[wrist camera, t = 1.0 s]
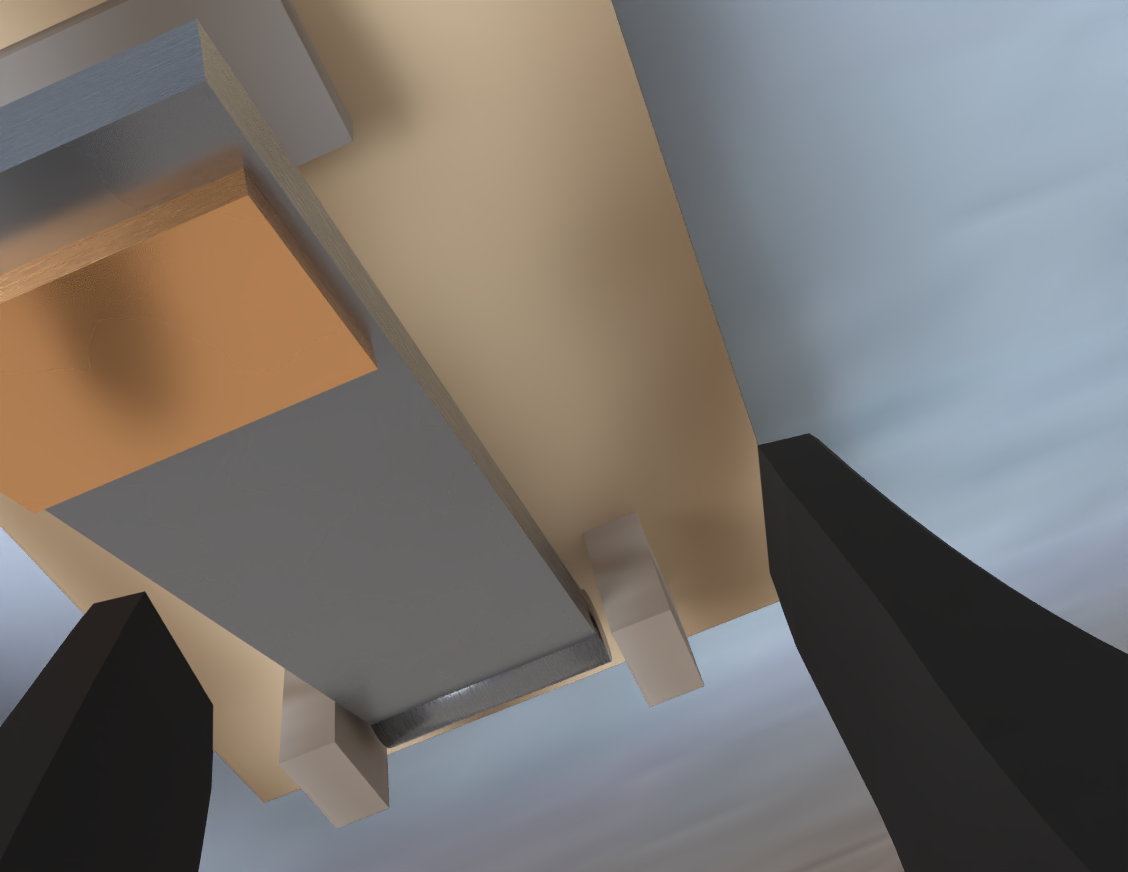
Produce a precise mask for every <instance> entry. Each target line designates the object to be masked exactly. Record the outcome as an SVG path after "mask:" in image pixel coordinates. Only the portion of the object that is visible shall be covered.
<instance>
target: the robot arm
mask: <svg viewBox="0 0 1128 872" xmlns="http://www.w3.org/2000/svg"><path fill="white" fill-rule="evenodd" d="M757 447H758V457H759V468H760V478H761V488H762V499H763V509H764V520H765V530H766V540H767V551H768V561H769V572H770V575H771V578H772V581H773V584H774V586H775V589H776V592H777V595H778V598H779V601H780V603H781V606H782V609H783V612H784V615H785V617H786V620H787V623H788V625H789V628H790V631H791V634H792V636H793V639H794V642H795V644H796V647H797V649H798V651H799V653H800V655H801V657H802V659H803V661H804V663H805V665H806V667H807V669H808V671H809V673H810V675H811V677H812V679H813V681H814V683H815V685H816V687H817V689H818V691H819V693H820V695H821V697H822V699H823V701H824V703H825V705H826V707H827V709H828V711H829V713H830V715H831V717H832V719H833V721H834V723H835V725H836V727H837V729H838V731H839V733H840V735H841V737H842V739H843V741H844V743H845V745H846V747H847V749H848V751H849V753H850V755H851V757H852V759H853V761H854V763H855V765H856V767H857V769H858V771H859V773H860V775H861V777H862V779H863V780H864V782H865V784H866V786H867V788H868V790H869V792H870V794H871V796H872V798H873V800H874V802H875V804H876V806H877V808H878V810H879V812H880V815H881V817H882V819H883V821H884V823H885V826H886V828H887V830H888V832H889V834H890V837H891V839H892V841H893V843H894V845H895V848H896V850H897V853H898V856H899V858H900V861H901V863H902V866H903V868H904V871H905V872H1128V654H1127V653H1125V652H1123V651H1121V650H1119V649H1117V648H1115V647H1113V646H1111V645H1109V644H1107V643H1105V642H1103V641H1101V640H1099V639H1098V638H1096V637H1094V636H1092V635H1090V634H1088V633H1087V632H1085V631H1083V630H1081V629H1080V628H1078V627H1076V626H1074V625H1072V624H1071V623H1069V622H1067V621H1065V620H1064V619H1062V618H1060V617H1058V616H1057V615H1055V614H1053V613H1051V612H1050V611H1048V610H1046V609H1045V608H1043V607H1041V606H1040V605H1038V604H1037V603H1035V602H1033V601H1032V600H1030V599H1028V598H1027V597H1025V596H1024V595H1022V594H1020V593H1019V592H1017V591H1016V590H1014V589H1013V588H1011V587H1009V586H1008V585H1006V584H1005V583H1003V582H1002V581H1000V580H999V579H997V578H996V577H994V576H993V575H991V574H990V573H988V572H987V571H985V570H984V569H982V568H981V567H979V566H978V565H976V564H975V563H973V562H972V561H971V560H969V559H968V558H966V557H965V556H964V555H962V554H961V553H959V552H958V551H956V550H955V549H954V548H952V547H951V546H949V545H948V544H947V543H945V542H944V541H943V540H941V539H940V538H939V537H937V536H936V535H935V534H933V533H932V532H931V531H929V530H928V529H927V528H925V527H924V526H923V525H921V524H920V523H919V522H917V521H916V520H915V519H913V518H912V517H911V516H909V515H908V514H907V513H906V512H904V511H903V510H902V509H901V508H899V507H898V506H897V505H895V504H894V503H893V502H892V501H890V500H889V499H888V498H887V497H885V496H884V495H883V494H882V493H881V492H879V491H878V490H877V489H876V488H875V487H873V486H872V485H871V484H870V483H868V482H867V481H866V480H865V479H864V478H862V477H861V476H860V475H859V474H858V473H857V472H855V471H854V470H853V469H852V468H851V467H850V466H848V465H847V464H846V463H845V462H844V461H843V460H841V459H840V458H839V457H838V456H837V455H836V454H835V453H834V452H832V451H831V450H830V449H829V448H828V447H827V446H826V445H824V444H823V443H822V442H821V441H820V440H819V439H817V438H816V437H814V436H813V435H811V434H804V435H800V436H796V437H792V438H788V439H783V440H779V441H775V442H771V443H767V444H762V445H758V446H757ZM212 760H213V704H212V702H211V700H210V699H209V697H208V695H207V694H206V692H205V690H204V689H203V687H202V685H201V684H200V682H199V680H198V679H197V677H196V675H195V674H194V672H193V670H192V669H191V667H190V665H189V664H188V662H187V660H186V659H185V657H184V655H183V654H182V652H181V650H180V649H179V647H178V645H177V644H176V642H175V640H174V639H173V637H172V635H171V634H170V632H169V630H168V629H167V627H166V625H165V624H164V622H163V620H162V619H161V617H160V615H159V614H158V612H157V610H156V609H155V607H154V605H153V604H152V602H151V600H150V599H149V597H148V595H147V594H146V592H145V591H144V592H140V593H135V594H131V595H127V596H123V597H119V598H114V599H110V600H106V601H102V602H98V603H93V605H92V606H91V607H90V608H89V610H88V611H87V612H86V613H85V615H84V616H83V617H82V618H81V620H80V621H79V622H78V623H77V625H76V626H75V627H74V629H73V630H72V631H71V633H70V634H69V635H68V637H67V638H66V639H65V641H64V642H63V643H62V645H61V646H60V647H59V649H58V650H57V652H56V653H55V654H54V656H53V657H52V658H51V660H50V661H49V662H48V664H47V665H46V666H45V668H44V669H43V671H42V672H41V673H40V675H39V676H38V677H37V679H36V680H35V681H34V683H33V684H32V686H31V687H30V688H29V690H28V691H27V692H26V694H25V695H24V696H23V698H22V699H21V700H20V702H19V703H18V704H17V706H16V707H15V708H14V710H13V711H12V712H11V714H10V715H9V716H8V718H7V719H6V720H5V722H4V723H3V724H2V726H1V727H0V872H198V870H199V864H200V858H201V852H202V846H203V839H204V833H205V827H206V820H207V814H208V807H209V800H210V793H211V785H212Z"/></svg>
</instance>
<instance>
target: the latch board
mask: <svg viewBox="0 0 1128 872" xmlns="http://www.w3.org/2000/svg"><path fill="white" fill-rule="evenodd" d="M196 18H197V19H198V21H199V22H200V24H201V25H202V27H203V28H204V30H205V31H206V33H207V34H208V36H209V37H210V39H211V40H212V42H213V43H214V45H215V46H216V48H217V49H218V51H219V52H220V54H221V55H222V57H223V58H224V59H225V61H226V62H227V64H228V65H229V67H230V68H231V70H232V71H233V73H234V74H235V76H236V77H237V79H238V80H239V82H240V83H241V85H242V86H243V88H244V89H245V91H246V92H247V94H248V95H249V97H250V98H251V100H252V101H253V103H254V104H255V106H256V107H257V109H258V110H259V112H260V113H261V115H262V116H263V118H264V119H265V120H266V122H267V123H268V125H269V126H270V128H271V129H272V131H273V132H274V134H275V135H276V137H277V138H278V140H279V141H280V143H281V144H282V146H283V147H284V149H285V150H286V152H287V153H288V155H289V156H290V158H291V159H292V161H293V162H294V164H295V165H296V167H297V168H298V170H299V171H300V173H301V174H302V176H303V177H304V179H305V180H306V182H307V183H308V184H309V186H310V187H311V189H312V190H313V192H314V193H315V195H316V196H317V198H318V199H319V201H320V202H321V204H322V205H323V207H324V208H325V210H326V211H327V213H328V214H329V216H330V217H331V219H332V220H333V222H334V223H335V225H336V226H337V228H338V229H339V231H340V232H341V234H342V235H343V237H344V238H345V240H346V241H347V243H348V244H349V245H350V247H351V248H352V250H353V251H354V253H355V254H356V256H357V257H358V259H359V260H360V262H361V263H362V265H363V266H364V268H365V269H366V271H367V272H368V274H369V275H370V277H371V278H372V280H373V281H374V283H375V284H376V286H377V287H378V289H379V290H380V292H381V293H382V295H383V296H384V298H385V299H386V301H387V302H388V304H389V305H390V307H391V308H392V309H393V311H394V312H395V314H396V315H397V317H398V318H399V320H400V321H401V323H402V324H403V326H404V327H405V329H406V330H407V332H408V333H409V335H410V336H411V338H412V339H413V341H414V342H415V344H416V345H417V347H418V348H419V350H420V351H421V353H422V354H423V356H424V357H425V359H426V360H427V362H428V363H429V365H430V366H431V368H432V369H433V370H434V372H435V373H436V375H437V376H438V378H439V379H440V381H441V382H442V384H443V385H444V387H445V388H446V390H447V391H448V393H449V394H450V396H451V397H452V399H453V400H454V402H455V403H456V405H457V406H458V408H459V409H460V411H461V412H462V414H463V415H464V417H465V418H466V420H467V421H468V423H469V424H470V426H471V427H472V429H473V430H474V432H475V433H476V434H477V436H478V437H479V439H480V440H481V442H482V443H483V445H484V446H485V448H486V449H487V451H488V452H489V454H490V455H491V457H492V458H493V460H494V461H495V463H496V464H497V466H498V467H499V469H500V470H501V472H502V473H503V475H504V476H505V478H506V479H507V481H508V482H509V484H510V485H511V487H512V488H513V490H514V491H515V493H516V494H517V495H518V497H519V498H520V500H521V501H522V503H523V504H524V506H525V507H526V509H527V510H528V512H529V513H530V515H531V516H532V518H533V519H534V521H535V522H536V524H537V525H538V527H539V528H540V530H541V531H542V533H543V534H544V536H545V537H546V539H547V540H548V542H549V543H550V545H551V546H552V548H553V549H554V551H555V552H556V554H557V555H558V557H559V558H560V559H561V561H562V562H563V564H564V565H565V567H566V568H567V570H568V571H569V573H570V574H571V576H572V577H573V579H574V580H575V582H576V583H577V585H578V586H579V588H580V589H581V590H582V589H585V591H586V592H587V594H588V595H589V597H590V599H591V601H592V603H593V605H594V607H595V610H596V612H597V614H598V617H599V619H600V622H601V624H602V627H603V630H604V632H605V635H606V638H607V641H608V644H609V648H610V651H611V655H612V662H610V663H607V664H604V665H602V666H599V667H597V668H594V669H592V670H589V671H587V672H584V673H581V674H579V675H576V676H574V677H571V678H569V679H566V680H564V681H561V682H559V683H556V684H553V685H551V686H548V687H546V688H543V689H541V690H538V691H536V692H533V693H530V694H528V695H525V696H523V697H520V698H518V699H515V700H513V701H510V702H508V703H505V704H502V705H500V706H497V707H495V708H492V709H490V710H487V711H485V712H482V713H479V714H477V715H474V716H472V717H469V718H467V719H464V720H462V721H459V722H457V723H454V724H451V725H449V726H446V727H444V728H441V729H439V730H436V731H434V732H431V733H429V734H426V735H423V736H421V737H418V738H416V739H413V740H411V741H408V742H406V743H403V744H400V745H398V746H395V747H393V748H387V747H385V746H384V745H383V744H382V743H381V742H380V741H379V739H378V738H377V736H376V735H375V733H374V731H373V729H372V727H371V725H370V724H368V723H367V722H365V721H364V720H362V719H361V718H359V717H358V716H356V715H355V714H353V713H351V712H350V711H348V710H347V709H345V708H344V707H342V706H341V705H339V704H338V703H336V702H335V701H333V700H332V699H330V698H329V697H327V696H326V695H324V694H323V693H321V692H320V691H318V690H317V689H315V688H314V687H312V686H311V685H309V684H308V683H306V682H305V681H303V680H302V679H300V678H298V677H297V676H295V675H294V674H292V673H291V672H289V671H288V670H286V669H285V668H283V667H282V666H280V665H279V664H277V663H276V662H274V661H273V660H271V659H270V658H268V657H267V656H265V655H264V654H262V653H261V652H259V651H258V650H256V649H255V648H253V647H252V646H250V645H249V644H247V643H245V642H244V641H242V640H241V639H239V638H238V637H236V636H235V635H233V634H232V633H230V632H229V631H227V630H226V629H224V628H223V627H221V626H220V625H218V624H217V623H215V622H214V621H212V620H211V619H209V618H208V617H206V616H205V615H203V614H202V613H200V612H199V611H197V610H196V609H194V608H192V607H191V606H189V605H188V604H186V603H185V602H183V601H182V600H180V599H179V598H177V597H176V596H174V595H173V594H171V593H170V592H168V591H167V590H165V589H164V588H162V587H161V586H159V585H158V584H156V583H155V582H153V581H152V580H150V579H149V578H147V577H146V576H144V575H143V574H141V573H139V572H138V571H136V570H135V569H133V568H132V567H130V566H129V565H127V564H126V563H124V562H123V561H121V560H120V559H118V558H117V557H115V556H114V555H112V554H111V553H109V552H108V551H106V550H105V549H103V548H102V547H100V546H99V545H97V544H96V543H94V542H93V541H91V540H90V539H88V538H86V537H85V536H83V535H82V534H80V533H79V532H77V531H76V530H74V529H73V528H71V527H70V526H68V525H67V524H65V523H64V522H62V521H61V520H59V519H58V518H56V517H55V516H53V515H52V514H50V513H49V512H47V511H46V510H42V511H40V512H37V513H35V514H33V513H32V512H30V511H29V510H27V509H26V508H24V507H22V506H21V505H19V504H18V503H16V502H15V501H13V500H12V499H10V498H9V497H7V496H6V495H4V494H2V493H1V492H0V526H1V527H2V528H3V530H4V531H5V532H6V533H7V534H8V535H9V536H10V537H11V538H12V539H13V540H14V541H15V542H16V543H17V544H18V545H19V546H20V547H21V548H22V549H23V551H24V552H25V553H26V554H27V555H28V556H29V557H30V558H31V559H32V560H33V561H34V562H35V563H36V564H37V565H38V566H39V567H40V568H41V569H42V570H43V571H44V573H45V574H46V575H47V576H48V577H49V578H50V579H51V580H52V581H53V582H54V583H55V584H56V585H57V586H58V587H59V588H60V589H61V590H62V591H63V592H64V594H65V595H66V596H67V597H68V598H69V599H70V600H71V601H72V602H73V603H74V604H75V605H76V606H77V607H78V608H79V609H80V610H81V611H82V612H83V613H84V615H85V613H86V612H87V611H88V610H89V608H90V607H91V606H92V605H93V603H98V602H102V601H106V600H110V599H114V598H119V597H123V596H127V595H131V594H135V593H140V592H144V591H145V592H146V594H147V595H148V597H149V599H150V600H151V602H152V604H153V605H154V607H155V609H156V610H157V612H158V614H159V615H160V617H161V619H162V620H163V622H164V624H165V625H166V627H167V629H168V630H169V632H170V634H171V635H172V637H173V639H174V640H175V642H176V644H177V645H178V647H179V649H180V650H181V652H182V654H183V655H184V657H185V659H186V660H187V662H188V664H189V665H190V667H191V669H192V670H193V672H194V674H195V675H196V677H197V679H198V680H199V682H200V684H201V685H202V687H203V689H204V690H205V692H206V694H207V695H208V697H209V699H210V700H211V702H212V704H213V750H214V751H215V752H216V753H217V754H218V755H219V756H220V757H221V758H222V759H223V760H224V761H225V762H226V764H227V765H228V766H229V767H230V768H231V769H232V770H233V771H234V772H235V773H236V774H237V775H238V776H239V777H240V778H241V779H242V780H243V781H244V782H245V783H246V785H247V786H248V787H249V788H250V789H251V790H252V791H253V792H254V793H255V794H256V795H257V796H258V797H259V798H260V799H261V800H262V801H263V802H264V803H265V802H268V801H271V800H273V799H276V798H278V797H281V796H283V795H286V794H288V793H291V792H293V791H296V790H299V789H301V790H302V791H303V792H304V793H305V794H306V795H307V796H308V797H309V798H310V799H311V801H312V802H313V803H314V804H315V805H316V806H317V807H318V808H319V809H320V811H321V812H322V813H323V814H324V815H325V816H326V817H327V818H328V819H329V821H330V822H331V823H332V824H333V825H334V826H335V827H336V828H339V827H342V826H345V825H347V824H350V823H352V822H355V821H357V820H360V819H363V818H365V817H368V816H370V815H373V814H375V813H378V812H381V811H383V810H386V809H388V808H389V788H388V762H387V755H388V754H390V753H393V752H396V751H398V750H401V749H403V748H406V747H408V746H411V745H413V744H416V743H419V742H421V741H424V740H426V739H429V738H431V737H434V736H436V735H439V734H441V733H444V732H447V731H449V730H452V729H454V728H457V727H459V726H462V725H464V724H467V723H470V722H472V721H475V720H477V719H480V718H482V717H485V716H487V715H490V714H493V713H495V712H498V711H500V710H503V709H505V708H508V707H510V706H513V705H515V704H518V703H521V702H523V701H526V700H528V699H531V698H533V697H536V696H538V695H541V694H544V693H546V692H549V691H551V690H554V689H556V688H559V687H561V686H564V685H567V684H569V683H572V682H574V681H577V680H579V679H582V678H584V677H587V676H589V675H592V674H595V673H597V672H600V671H602V670H605V669H607V668H610V667H612V666H615V665H618V664H620V663H623V662H625V661H626V663H627V665H628V667H629V668H630V670H631V672H632V674H633V676H634V678H635V680H636V682H637V684H638V686H639V688H640V690H641V692H642V694H643V696H644V698H645V700H646V702H647V704H648V706H649V707H651V706H654V705H656V704H659V703H662V702H664V701H667V700H669V699H672V698H675V697H677V696H680V695H682V694H685V693H687V692H690V691H693V690H695V689H698V688H700V687H703V686H704V683H703V681H702V678H701V675H700V672H699V670H698V667H697V664H696V662H695V659H694V656H693V653H692V651H691V648H690V645H689V642H688V640H687V637H689V636H692V635H694V634H697V633H699V632H702V631H704V630H707V629H709V628H712V627H715V626H717V625H720V624H722V623H725V622H727V621H730V620H732V619H735V618H737V617H740V616H743V615H745V614H748V613H750V612H753V611H755V610H758V609H760V608H763V607H766V606H768V605H771V604H773V603H776V602H778V601H779V598H778V595H777V592H776V589H775V586H774V584H773V581H772V578H771V575H770V572H769V561H768V551H767V540H766V530H765V520H764V509H763V499H762V488H761V478H760V468H759V457H758V447H757V446H758V444H757V441H756V437H755V434H754V431H753V428H752V425H751V422H750V419H749V416H748V413H747V410H746V407H745V404H744V401H743V398H742V395H741V392H740V389H739V386H738V383H737V380H736V377H735V374H734V371H733V368H732V365H731V362H730V359H729V356H728V353H727V350H726V347H725V344H724V341H723V338H722V334H721V331H720V328H719V325H718V322H717V319H716V316H715V313H714V310H713V307H712V304H711V301H710V298H709V295H708V292H707V289H706V286H705V283H704V280H703V277H702V274H701V271H700V268H699V265H698V262H697V259H696V256H695V253H694V250H693V247H692V244H691V241H690V238H689V234H688V231H687V228H686V225H685V222H684V219H683V216H682V213H681V210H680V207H679V204H678V201H677V198H676V195H675V192H674V189H673V186H672V183H671V180H670V177H669V174H668V171H667V168H666V165H665V162H664V159H663V156H662V153H661V150H660V147H659V144H658V141H657V138H656V135H655V131H654V128H653V125H652V122H651V119H650V116H649V113H648V110H647V107H646V104H645V101H644V98H643V95H642V92H641V89H640V86H639V83H638V80H637V77H636V74H635V71H634V68H633V65H632V62H631V59H630V56H629V53H628V50H627V47H626V44H625V41H624V38H623V35H622V31H621V28H620V25H619V22H618V19H617V16H616V13H615V10H614V7H613V4H612V1H611V0H0V107H2V106H4V105H7V104H9V103H11V102H13V101H15V100H18V99H20V98H22V97H24V96H27V95H29V94H31V93H33V92H35V91H38V90H40V89H42V88H44V87H46V86H49V85H51V84H53V83H55V82H57V81H60V80H62V79H64V78H66V77H68V76H71V75H73V74H75V73H77V72H79V71H82V70H84V69H86V68H88V67H91V66H93V65H95V64H97V63H99V62H102V61H104V60H106V59H108V58H110V57H113V56H115V55H117V54H119V53H121V52H124V51H126V50H128V49H130V48H132V47H135V46H137V45H139V44H141V43H143V42H146V41H148V40H150V39H152V38H155V37H157V36H159V35H161V34H163V33H166V32H168V31H170V30H172V29H174V28H177V27H179V26H181V25H183V24H185V23H188V22H190V21H192V20H194V19H196Z"/></svg>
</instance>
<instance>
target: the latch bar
mask: <svg viewBox="0 0 1128 872" xmlns="http://www.w3.org/2000/svg"><path fill="white" fill-rule="evenodd" d="M0 492H1V493H2V494H4V495H6V496H7V497H9V498H10V499H12V500H13V501H15V502H16V503H18V504H19V505H21V506H22V507H24V508H26V509H27V510H29V511H30V512H32V513H33V514H35V513H37V512H40V511H42V510H46V511H47V512H49V513H50V514H52V515H53V516H55V517H56V518H58V519H59V520H61V521H62V522H64V523H65V524H67V525H68V526H70V527H71V528H73V529H74V530H76V531H77V532H79V533H80V534H82V535H83V536H85V537H86V538H88V539H90V540H91V541H93V542H94V543H96V544H97V545H99V546H100V547H102V548H103V549H105V550H106V551H108V552H109V553H111V554H112V555H114V556H115V557H117V558H118V559H120V560H121V561H123V562H124V563H126V564H127V565H129V566H130V567H132V568H133V569H135V570H136V571H138V572H139V573H141V574H143V575H144V576H146V577H147V578H149V579H150V580H152V581H153V582H155V583H156V584H158V585H159V586H161V587H162V588H164V589H165V590H167V591H168V592H170V593H171V594H173V595H174V596H176V597H177V598H179V599H180V600H182V601H183V602H185V603H186V604H188V605H189V606H191V607H192V608H194V609H196V610H197V611H199V612H200V613H202V614H203V615H205V616H206V617H208V618H209V619H211V620H212V621H214V622H215V623H217V624H218V625H220V626H221V627H223V628H224V629H226V630H227V631H229V632H230V633H232V634H233V635H235V636H236V637H238V638H239V639H241V640H242V641H244V642H245V643H247V644H249V645H250V646H252V647H253V648H255V649H256V650H258V651H259V652H261V653H262V654H264V655H265V656H267V657H268V658H270V659H271V660H273V661H274V662H276V663H277V664H279V665H280V666H282V667H283V668H285V669H286V670H288V671H289V672H291V673H292V674H294V675H295V676H297V677H298V678H300V679H302V680H303V681H305V682H306V683H308V684H309V685H311V686H312V687H314V688H315V689H317V690H318V691H320V692H321V693H323V694H324V695H326V696H327V697H329V698H330V699H332V700H333V701H335V702H336V703H338V704H339V705H341V706H342V707H344V708H345V709H347V710H348V711H350V712H351V713H353V714H355V715H356V716H358V717H359V718H361V719H362V720H364V721H365V722H367V723H368V724H370V725H371V727H372V729H373V731H374V733H375V735H376V736H377V738H378V739H379V741H380V742H381V743H382V744H383V745H384V746H385V747H387V748H393V747H395V746H398V745H400V744H403V743H406V742H408V741H411V740H413V739H416V738H418V737H421V736H423V735H426V734H429V733H431V732H434V731H436V730H439V729H441V728H444V727H446V726H449V725H451V724H454V723H457V722H459V721H462V720H464V719H467V718H469V717H472V716H474V715H477V714H479V713H482V712H485V711H487V710H490V709H492V708H495V707H497V706H500V705H502V704H505V703H508V702H510V701H513V700H515V699H518V698H520V697H523V696H525V695H528V694H530V693H533V692H536V691H538V690H541V689H543V688H546V687H548V686H551V685H553V684H556V683H559V682H561V681H564V680H566V679H569V678H571V677H574V676H576V675H579V674H581V673H584V672H587V671H589V670H592V669H594V668H597V667H599V666H602V665H604V664H607V663H610V662H612V655H611V651H610V648H609V644H608V641H607V638H606V635H605V632H604V630H603V627H602V624H601V622H600V619H599V617H598V614H597V612H596V610H595V607H594V605H593V603H592V601H591V599H590V597H589V595H588V594H587V592H586V591H585V589H582V590H581V589H580V588H579V586H578V585H577V583H576V582H575V580H574V579H573V577H572V576H571V574H570V573H569V571H568V570H567V568H566V567H565V565H564V564H563V562H562V561H561V559H560V558H559V557H558V555H557V554H556V552H555V551H554V549H553V548H552V546H551V545H550V543H549V542H548V540H547V539H546V537H545V536H544V534H543V533H542V531H541V530H540V528H539V527H538V525H537V524H536V522H535V521H534V519H533V518H532V516H531V515H530V513H529V512H528V510H527V509H526V507H525V506H524V504H523V503H522V501H521V500H520V498H519V497H518V495H517V494H516V493H515V491H514V490H513V488H512V487H511V485H510V484H509V482H508V481H507V479H506V478H505V476H504V475H503V473H502V472H501V470H500V469H499V467H498V466H497V464H496V463H495V461H494V460H493V458H492V457H491V455H490V454H489V452H488V451H487V449H486V448H485V446H484V445H483V443H482V442H481V440H480V439H479V437H478V436H477V434H476V433H475V432H474V430H473V429H472V427H471V426H470V424H469V423H468V421H467V420H466V418H465V417H464V415H463V414H462V412H461V411H460V409H459V408H458V406H457V405H456V403H455V402H454V400H453V399H452V397H451V396H450V394H449V393H448V391H447V390H446V388H445V387H444V385H443V384H442V382H441V381H440V379H439V378H438V376H437V375H436V373H435V372H434V370H433V369H432V368H431V366H430V365H429V363H428V362H427V360H426V359H425V357H424V356H423V354H422V353H421V351H420V350H419V348H418V347H417V345H416V344H415V342H414V341H413V339H412V338H411V336H410V335H409V333H408V332H407V330H406V329H405V327H404V326H403V324H402V323H401V321H400V320H399V318H398V317H397V315H396V314H395V312H394V311H393V309H392V308H391V307H390V305H389V304H388V302H387V301H386V299H385V298H384V296H383V295H382V293H381V292H380V290H379V289H378V287H377V286H376V284H375V283H374V281H373V280H372V278H371V277H370V275H369V274H368V272H367V271H366V269H365V268H364V266H363V265H362V263H361V262H360V260H359V259H358V257H357V256H356V254H355V253H354V251H353V250H352V248H351V247H350V245H349V244H348V243H347V241H346V240H345V238H344V237H343V235H342V234H341V232H340V231H339V229H338V228H337V226H336V225H335V223H334V222H333V220H332V219H331V217H330V216H329V214H328V213H327V211H326V210H325V208H324V207H323V205H322V204H321V202H320V201H319V199H318V198H317V196H316V195H315V193H314V192H313V190H312V189H311V187H310V186H309V184H308V183H307V182H306V180H305V179H304V177H303V176H302V174H301V173H300V171H299V170H298V168H297V167H296V165H295V164H294V162H293V161H292V159H291V158H290V156H289V155H288V153H287V152H286V150H285V149H284V147H283V146H282V144H281V143H280V141H279V140H278V138H277V137H276V135H275V134H274V132H273V131H272V129H271V128H270V126H269V125H268V123H267V122H266V120H265V119H264V118H263V116H262V115H261V113H260V112H259V110H258V109H257V107H256V106H255V104H254V103H253V101H252V100H251V98H250V97H249V95H248V94H247V92H246V91H245V89H244V88H243V86H242V85H241V83H240V82H239V80H238V79H237V77H236V76H235V74H234V73H233V71H232V70H231V68H230V67H229V65H228V64H227V62H226V61H225V59H224V58H223V57H222V55H221V54H220V52H219V51H218V49H217V48H216V46H215V45H214V43H213V42H212V40H211V39H210V37H209V36H208V34H207V33H206V31H205V30H204V28H203V27H202V25H201V24H200V22H199V21H198V19H197V18H196V19H194V20H192V21H190V22H188V23H185V24H183V25H181V26H179V27H177V28H174V29H172V30H170V31H168V32H166V33H163V34H161V35H159V36H157V37H155V38H152V39H150V40H148V41H146V42H143V43H141V44H139V45H137V46H135V47H132V48H130V49H128V50H126V51H124V52H121V53H119V54H117V55H115V56H113V57H110V58H108V59H106V60H104V61H102V62H99V63H97V64H95V65H93V66H91V67H88V68H86V69H84V70H82V71H79V72H77V73H75V74H73V75H71V76H68V77H66V78H64V79H62V80H60V81H57V82H55V83H53V84H51V85H49V86H46V87H44V88H42V89H40V90H38V91H35V92H33V93H31V94H29V95H27V96H24V97H22V98H20V99H18V100H15V101H13V102H11V103H9V104H7V105H4V106H2V107H0Z"/></svg>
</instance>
